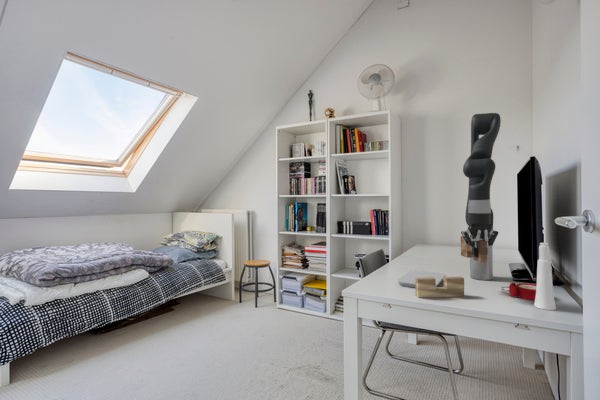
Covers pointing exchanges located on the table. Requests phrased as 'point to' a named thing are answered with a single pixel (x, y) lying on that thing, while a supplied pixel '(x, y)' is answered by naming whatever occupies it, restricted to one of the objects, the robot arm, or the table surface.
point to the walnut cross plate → (482, 250)
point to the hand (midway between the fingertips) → (479, 256)
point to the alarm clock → (522, 290)
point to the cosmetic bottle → (544, 280)
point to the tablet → (409, 278)
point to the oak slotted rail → (429, 289)
